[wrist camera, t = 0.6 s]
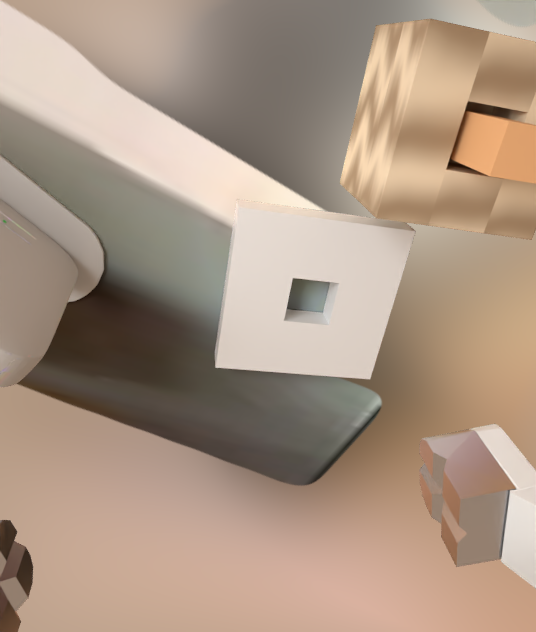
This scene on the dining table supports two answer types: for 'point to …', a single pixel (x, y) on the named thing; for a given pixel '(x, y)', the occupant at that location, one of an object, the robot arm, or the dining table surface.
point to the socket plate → (312, 264)
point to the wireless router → (38, 269)
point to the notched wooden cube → (439, 127)
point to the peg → (496, 146)
